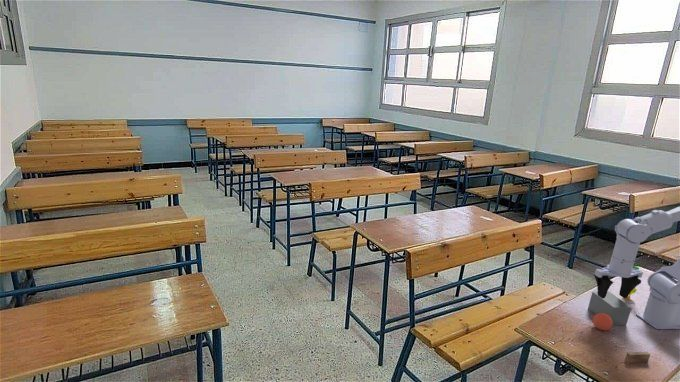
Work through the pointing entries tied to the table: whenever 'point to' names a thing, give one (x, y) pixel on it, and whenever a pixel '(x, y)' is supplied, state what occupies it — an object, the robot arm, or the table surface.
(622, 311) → the gray block
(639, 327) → the table surface
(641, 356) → the brown block
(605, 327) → the ball
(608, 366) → the table surface
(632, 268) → the toy figure
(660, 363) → the table surface
